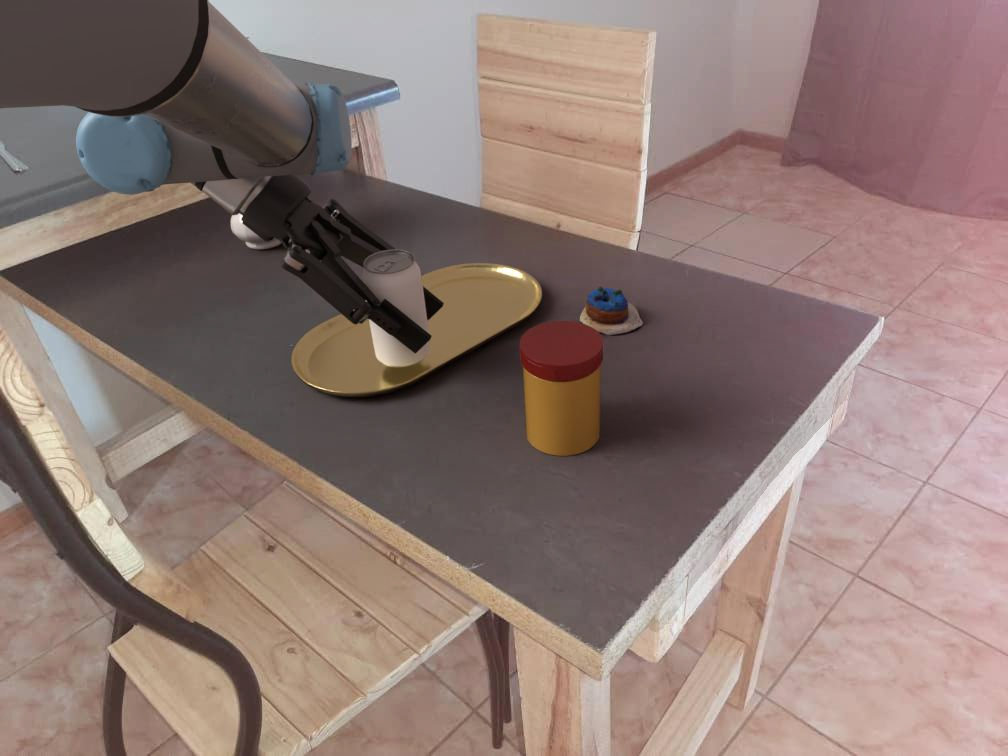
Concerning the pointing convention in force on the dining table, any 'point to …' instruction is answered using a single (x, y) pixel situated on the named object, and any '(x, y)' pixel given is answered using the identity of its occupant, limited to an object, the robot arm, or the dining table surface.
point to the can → (396, 302)
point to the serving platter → (454, 329)
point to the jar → (562, 413)
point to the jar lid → (561, 350)
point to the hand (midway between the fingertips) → (429, 327)
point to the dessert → (610, 312)
